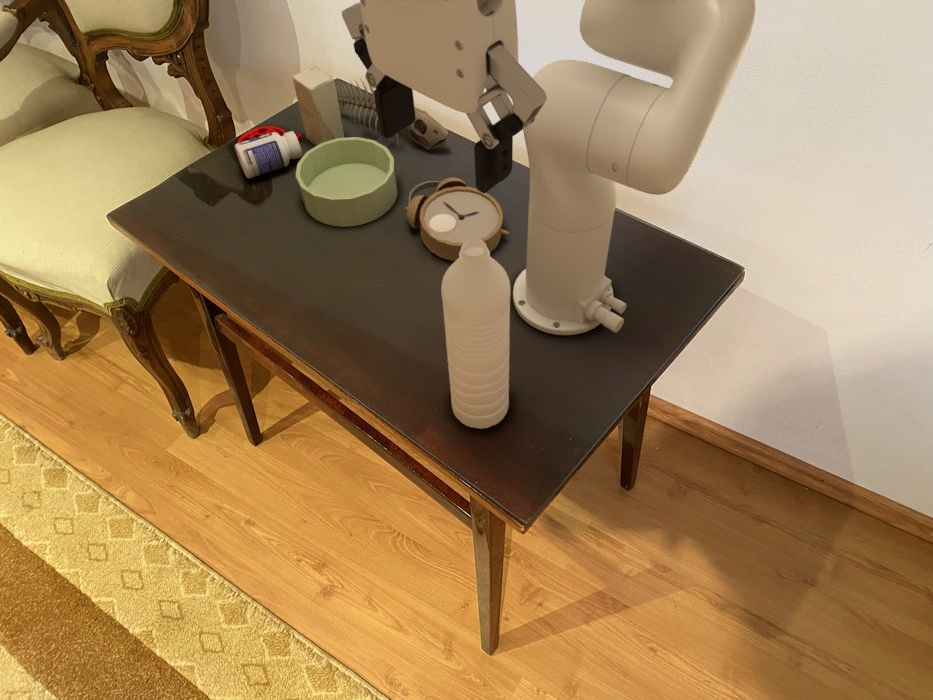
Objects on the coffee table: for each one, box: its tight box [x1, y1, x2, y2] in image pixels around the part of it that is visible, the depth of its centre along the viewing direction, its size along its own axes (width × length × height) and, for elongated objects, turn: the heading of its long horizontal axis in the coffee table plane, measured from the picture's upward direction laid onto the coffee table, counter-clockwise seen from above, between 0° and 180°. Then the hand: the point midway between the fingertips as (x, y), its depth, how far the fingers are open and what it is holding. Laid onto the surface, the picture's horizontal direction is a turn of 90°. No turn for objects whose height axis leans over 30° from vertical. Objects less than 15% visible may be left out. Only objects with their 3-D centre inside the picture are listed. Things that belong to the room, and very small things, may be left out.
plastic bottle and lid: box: [429, 214, 512, 430], centre depth 75 cm, size 9×6×25 cm
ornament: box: [237, 125, 303, 143], centre depth 116 cm, size 8×1×10 cm
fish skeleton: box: [335, 77, 449, 150], centre depth 114 cm, size 6×28×10 cm, turn 59°
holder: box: [295, 136, 399, 228], centre depth 106 cm, size 14×14×5 cm
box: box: [291, 65, 346, 147], centre depth 112 cm, size 5×4×11 cm
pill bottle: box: [234, 130, 303, 179], centre depth 110 cm, size 5×5×9 cm
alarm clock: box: [404, 177, 510, 262], centre depth 101 cm, size 11×5×15 cm
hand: (444, 154), depth 54 cm, fingers open, 9 cm apart
